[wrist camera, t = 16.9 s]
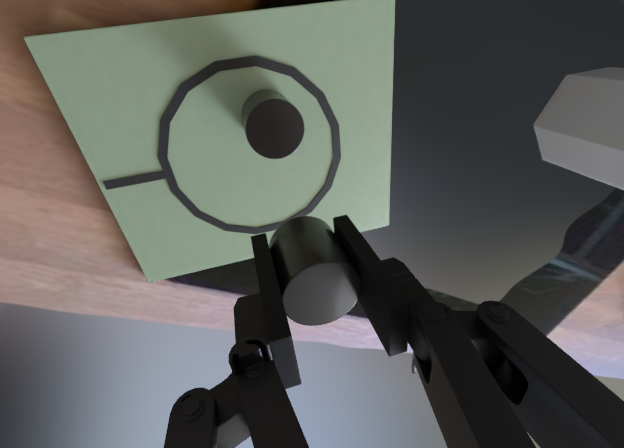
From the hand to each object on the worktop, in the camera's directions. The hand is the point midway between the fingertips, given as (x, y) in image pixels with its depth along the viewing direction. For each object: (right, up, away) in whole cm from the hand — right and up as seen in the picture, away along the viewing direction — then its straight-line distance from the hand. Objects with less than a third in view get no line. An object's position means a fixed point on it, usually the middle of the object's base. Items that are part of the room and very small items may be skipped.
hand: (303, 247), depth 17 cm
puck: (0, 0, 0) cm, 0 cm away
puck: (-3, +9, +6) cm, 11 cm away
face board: (-4, +7, +8) cm, 11 cm away
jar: (+25, +12, +14) cm, 31 cm away
